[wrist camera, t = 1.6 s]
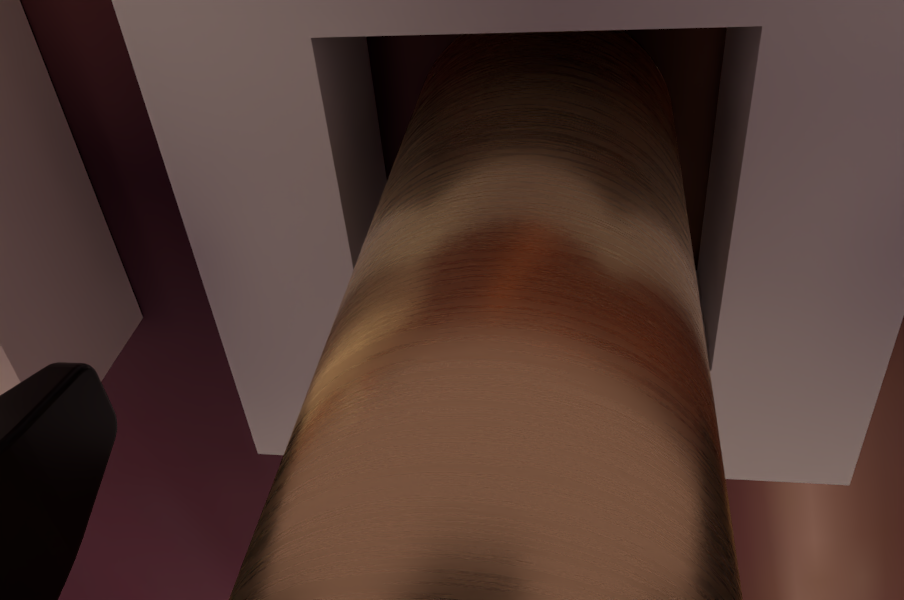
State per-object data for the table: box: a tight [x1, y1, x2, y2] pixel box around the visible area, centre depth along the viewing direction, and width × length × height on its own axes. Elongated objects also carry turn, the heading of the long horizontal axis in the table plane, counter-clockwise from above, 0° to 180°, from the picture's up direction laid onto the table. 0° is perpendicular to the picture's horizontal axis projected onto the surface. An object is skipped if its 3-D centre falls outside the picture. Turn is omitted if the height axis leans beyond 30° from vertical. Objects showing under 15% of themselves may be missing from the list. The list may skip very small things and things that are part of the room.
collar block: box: [112, 0, 904, 485], centre depth 12 cm, size 10×10×2 cm
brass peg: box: [229, 30, 743, 600], centre depth 10 cm, size 4×4×10 cm
